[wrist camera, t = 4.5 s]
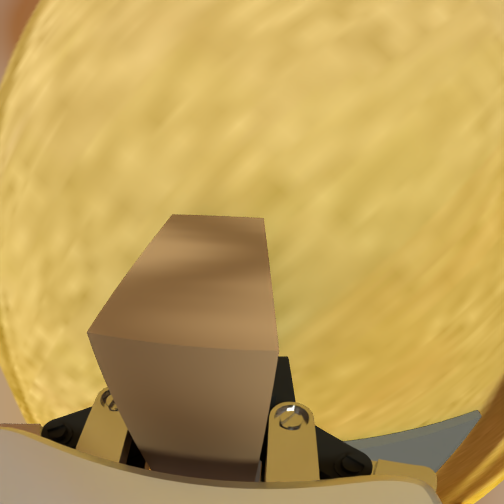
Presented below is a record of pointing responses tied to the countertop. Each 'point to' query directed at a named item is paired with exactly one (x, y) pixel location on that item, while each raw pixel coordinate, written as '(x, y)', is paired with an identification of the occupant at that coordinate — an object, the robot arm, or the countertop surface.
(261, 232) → the brown angular block
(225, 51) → the countertop surface
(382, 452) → the mat
